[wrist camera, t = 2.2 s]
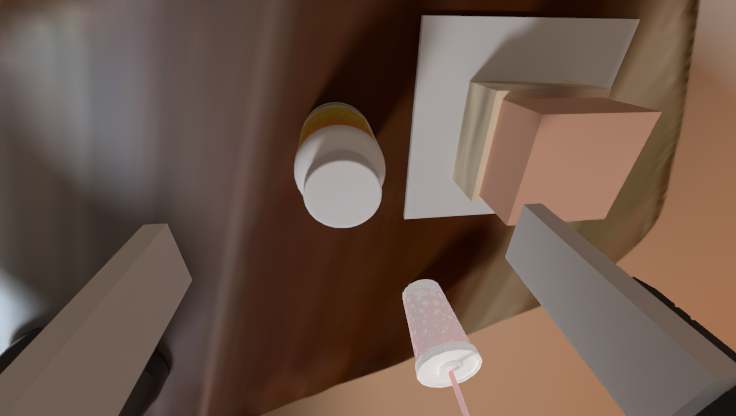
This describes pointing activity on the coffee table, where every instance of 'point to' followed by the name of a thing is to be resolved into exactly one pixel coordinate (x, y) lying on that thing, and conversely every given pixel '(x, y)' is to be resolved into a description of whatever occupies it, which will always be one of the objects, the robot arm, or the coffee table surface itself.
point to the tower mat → (492, 63)
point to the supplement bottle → (339, 166)
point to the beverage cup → (438, 339)
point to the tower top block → (563, 155)
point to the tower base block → (484, 116)
